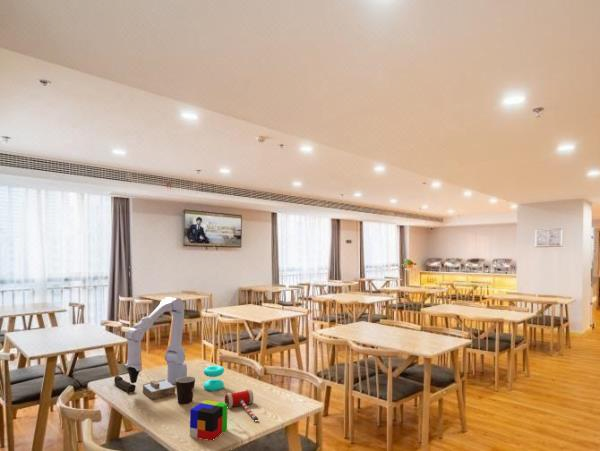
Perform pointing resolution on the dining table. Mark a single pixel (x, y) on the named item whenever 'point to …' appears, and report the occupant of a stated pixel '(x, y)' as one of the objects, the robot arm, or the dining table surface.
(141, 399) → the dining table surface
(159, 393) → the wooden tray
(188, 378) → the coffee mug
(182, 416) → the dining table surface
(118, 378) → the dark brown wooden log
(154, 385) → the lid
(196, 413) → the puzzle toy
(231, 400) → the toy hammer
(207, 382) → the donuts
